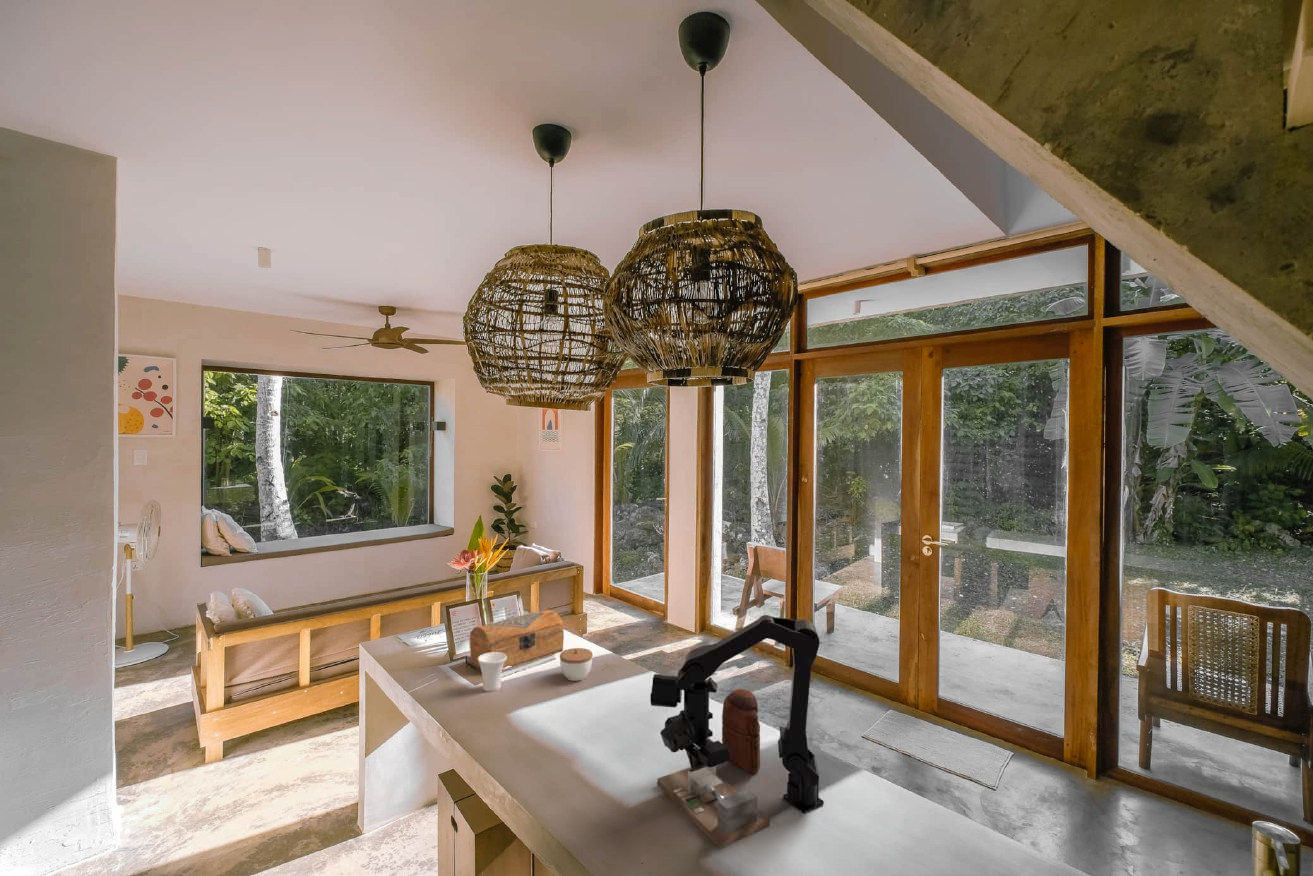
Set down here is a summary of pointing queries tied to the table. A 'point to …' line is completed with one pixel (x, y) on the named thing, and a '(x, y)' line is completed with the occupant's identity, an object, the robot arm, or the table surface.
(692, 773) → the gauge carriage
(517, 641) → the wooden box
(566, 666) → the lidded jar
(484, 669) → the cup
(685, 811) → the gauge base
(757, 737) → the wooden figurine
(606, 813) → the table surface
